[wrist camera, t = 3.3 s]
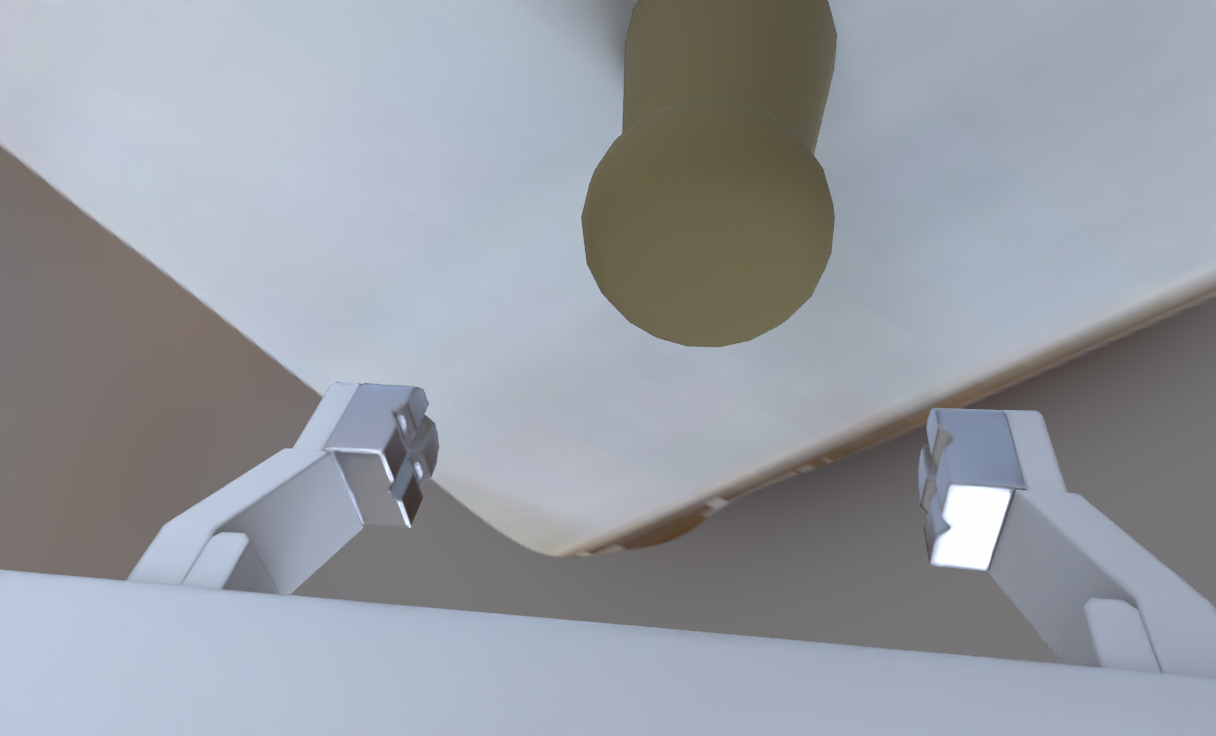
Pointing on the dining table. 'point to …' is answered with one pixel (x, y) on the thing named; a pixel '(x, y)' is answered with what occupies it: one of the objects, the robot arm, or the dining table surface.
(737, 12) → the olive tapered cylinder
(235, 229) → the dining table surface
